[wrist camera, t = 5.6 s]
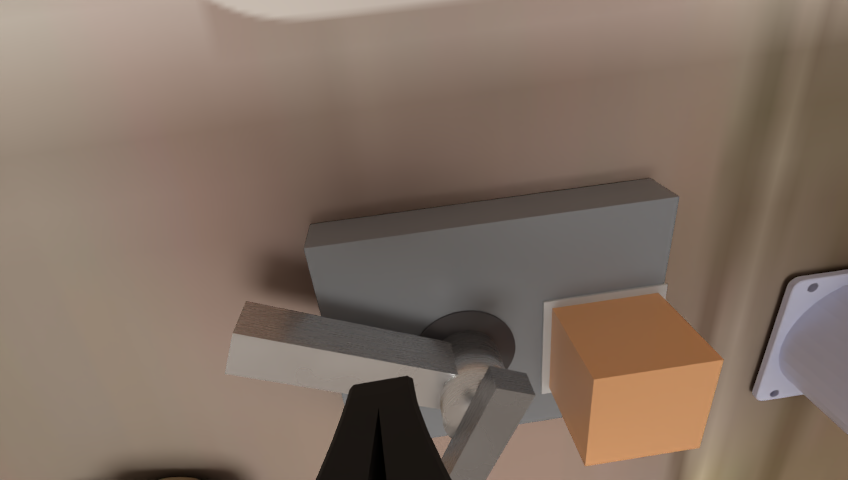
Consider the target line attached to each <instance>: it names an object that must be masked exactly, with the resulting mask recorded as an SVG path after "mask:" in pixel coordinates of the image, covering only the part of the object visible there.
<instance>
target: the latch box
mask: <svg viewBox="0 0 848 480" xmlns="http://www.w3.org/2000/svg"><path fill="white" fill-rule="evenodd" d="M678 202H679V196H678V195H676V194H675V193H673V192H671V191H670V190H668V189H667V188H665V187H664V186H662V185H661V184H659V183H657V182H656V181H654V180H653V179H651V178H648V179H641V180H634V181H626V182H619V183H611V184H604V185H597V186H589V187H582V188H575V189H567V190H560V191H553V192H545V193H538V194H530V195H523V196H516V197H508V198H501V199H494V200H486V201H479V202H472V203H464V204H457V205H450V206H442V207H435V208H427V209H420V210H413V211H405V212H398V213H391V214H383V215H376V216H369V217H361V218H354V219H346V220H339V221H332V222H324V223H317V224H310V227H309V231H308V234H307V238H306V242H305V245H304V252H305V255H306V259H307V263H308V267H309V271H310V275H311V278H312V282H313V286H314V290H315V294H316V298H317V301H318V305H319V309H320V313H321V316H322V317H327V318H332V319H337V320H342V321H347V322H352V323H357V324H362V325H367V326H371V327H376V328H381V329H386V330H391V331H396V332H401V333H406V334H411V335H416V336H421V337H426V338H431V339H436V340H441V341H443V340H444V339H445V338H447V337H449V336H450V335H453V334H455V333H458V332H463V331H476V332H481V333H483V334H486V335H487V336H489V337H490V338H492V339H493V341H494V342H495V343H496V345H497V348H498V351H499V353H500V356H501V359H502V362H503V364H504V367H505V369H508V370H513V371H518V372H523V373H527V376H528V378H529V380H530V383H531V385H532V388H533V390H534V393H535V395H536V396H535V397H534V399H533V401H532V402H531V404H530V406H529V408H528V409H527V411H526V413H525V414H524V416H523V418H522V419H521V421H520V423H519V424H523V423H530V422H536V421H543V420H549V419H555V418H562V414H561V412H560V410H559V408H558V406H557V403H556V401H555V399H554V397H553V395H552V393H551V390H550V388H549V380H550V354H551V328H552V308H558V307H565V306H571V305H578V304H585V303H592V302H599V301H605V300H612V299H619V298H626V297H633V296H640V295H646V294H653V293H659V294H660V295H661V296H662V297H663V298H664V299H665V298H666V292H667V287H668V284H667V283H665V284H664V282H665V276H666V270H667V265H668V259H669V253H670V248H671V242H672V236H673V230H674V225H675V219H676V213H677V208H678ZM347 396H348V394H344V393H342V397H343V401H344V405H345V403H346V400H347ZM419 408H420V411H421V413H422V416H423V419H424V421H425V424H426V427H427V429H428V431H429V434H430V436H431V438H434V437H440V436H447V435H448V434H447V433H446V431H445V429H444V426H443V420H442V414H441V409H435V408H429V407H423V406H419Z"/></svg>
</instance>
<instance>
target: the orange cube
mask: <svg viewBox="0 0 848 480" xmlns="http://www.w3.org/2000/svg"><path fill="white" fill-rule="evenodd" d="M723 361H724V359H723V358H722V357H721V356H720V355H719V354H718V353H717V352H716V351H715V350H714V349H713V348H712V347H711V346H710V345H709V344H708V343H707V342H706V341H705V340H704V339H703V338H702V337H701V336H700V335H699V334H698V333H697V332H696V331H695V330H694V329H693V328H692V327H691V326H690V325H689V324H688V322H687V321H686V320H685V319H684V318H683V317H682V316H681V315H680V314H679V313H678V312H677V311H676V310H675V309H674V308H673V307H672V306H671V305H670V304H669V303H668V302H667V301H666V300H665V299H664V298H663V297H662V296H661V295H660V294H659V293H653V294H646V295H640V296H633V297H626V298H619V299H612V300H605V301H599V302H592V303H585V304H578V305H571V306H565V307H558V308H552V328H551V354H550V380H549V388H550V390H551V393H552V395H553V397H554V399H555V401H556V403H557V406H558V408H559V410H560V412H561V414H562V417H563V419H564V421H565V423H566V425H567V428H568V430H569V432H570V434H571V436H572V439H573V441H574V443H575V445H576V447H577V449H578V452H579V454H580V456H581V458H582V460H583V463H584V465H585V466H590V465H596V464H602V463H608V462H615V461H621V460H627V459H633V458H639V457H646V456H652V455H658V454H664V453H670V452H676V451H683V450H689V449H695V448H700V444H701V440H702V437H703V433H704V430H705V426H706V422H707V419H708V415H709V411H710V408H711V404H712V401H713V397H714V393H715V390H716V386H717V383H718V379H719V375H720V372H721V368H722V364H723Z"/></svg>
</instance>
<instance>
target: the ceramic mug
mask: <svg viewBox="0 0 848 480" xmlns="http://www.w3.org/2000/svg"><path fill="white" fill-rule="evenodd" d="M160 480H199V479H196V478H190V477H168V478H164V479H160Z"/></svg>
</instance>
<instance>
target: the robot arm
mask: <svg viewBox="0 0 848 480" xmlns="http://www.w3.org/2000/svg"><path fill="white" fill-rule="evenodd" d="M752 394H753V396H754V397H755V398H756V399H757V400H759V401H765V400H771V399H777V398H784V397H790V396H796V395H803V394H804V395H805V396H806V397H807V398H808V399H809V400H810V401H811V402H813V403H814V404H815V405H816V406H817V407H818V408H819V409H820V410H821V411H822V412H824V413H825V414H826V415H827V416H828V417H829V418H830V419H831V420H832V421H833V422H834V423H836V424H837V425H838V426H839V427H840V428H841V429H842V430H843V431H844V432H845V433H846V434H848V269H846V270H840V271H833V272H826V273H819V274H812V275H806V276H799V277H796V278H794V279H792V280H791V281H790V282H789V283H788V285H787V288H786V291H785V294H784V297H783V300H782V303H781V306H780V309H779V312H778V315H777V318H776V321H775V324H774V327H773V330H772V333H771V336H770V339H769V342H768V345H767V348H766V351H765V354H764V357H763V360H762V363H761V367H760V370H759V373H758V376H757V379H756V382H755V385H754V388H753V391H752ZM316 480H452V479H451V477H450V476H449V474H448V472H447V470H446V468H445V466H444V464H443V462H442V460H441V458H440V455H439V453H438V451H437V449H436V447H435V445H434V443H433V440H432V438H431V436H430V434H429V431H428V429H427V427H426V424H425V421H424V419H423V416H422V413H421V411H420V408H419V405H418V401H417V397H416V392H415V387H414V382H413V378H411V377H409V376H402V377H396V378H390V379H384V380H378V381H372V382H366V383H361V384H355V385H353V386H352V387H351V388H350V389H349V393H348V396H347V400H346V403H345V406H344V409H343V412H342V415H341V418H340V421H339V424H338V426H337V429H336V432H335V434H334V437H333V440H332V442H331V445H330V447H329V450H328V452H327V454H326V457H325V459H324V462H323V464H322V466H321V469H320V471H319V474H318V476H317V478H316Z"/></svg>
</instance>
